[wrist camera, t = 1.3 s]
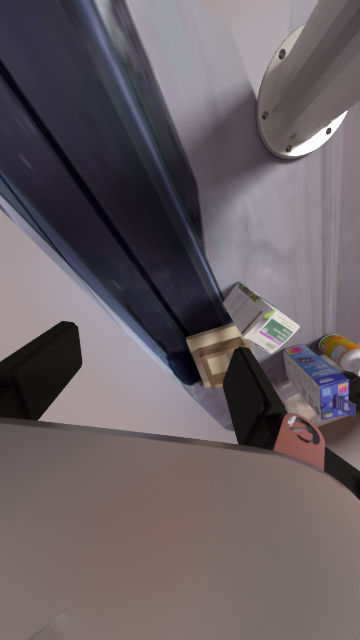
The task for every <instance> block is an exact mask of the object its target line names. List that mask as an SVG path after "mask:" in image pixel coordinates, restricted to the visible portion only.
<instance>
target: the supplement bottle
mask: <svg viewBox="0 0 360 640" xmlns="http://www.w3.org/2000/svg"><path fill="white" fill-rule="evenodd" d="M318 348H319V350H320V351H321V352H322V353H324V354H325V355H326V356H327V357H329V358H330V359H331V360H332V361H334V362H335V363H336V364H338V365H339V366H340V367H341V368H343V369H344V370H346V371H349V372H354V373H355V374H356V375H358V376H359V377H360V347H359V346H358V345H356V344H354V343H353V342H351V341H349V340H347V339H346V338H344V337H342V336H341V335H339V334H329V335H327V336H325V337H323V338H322V339H321V340H320V342H319V345H318Z"/></svg>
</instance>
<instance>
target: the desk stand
mask: <svg viewBox="0 0 360 640" xmlns="http://www.w3.org/2000/svg"><path fill="white" fill-rule="evenodd" d="M186 341H187V344H188V346H189V349H190V351H191V354H192V356H193V358H194V361H195V363H196V366H197V368H198V371H199V373H200V376H201V378H202V381H203V383H204V385H205V388H209V387H211V388H212V389H215V388H219V387H223V380H224V377H225V374H226V371H227V369H228V366H229V363H230V360H231V358H232V355H233V352H234V349H235V348H238V347H239V346H240V347H247V348H249V349H250V350H251V352H252V353H253V349H252V345H251V342H250V341H248V340H247V339H245V338H243V337H242V335H241V333H240V332H239V330H238V328H237V327H236V325H235V323H231V324H228V325H225V326H221V327H218V328H215V329H211V330H208V331H205V332H202V333H198V334H195V335H192V336H188V337H186ZM253 355H254V354H253Z"/></svg>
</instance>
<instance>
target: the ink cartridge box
mask: <svg viewBox="0 0 360 640" xmlns="http://www.w3.org/2000/svg"><path fill="white" fill-rule="evenodd" d="M283 356H284V362H285V368H286V374H287V378H288V379H289V380H290V382H291V383H292V384H293V385H294V386H295V388H296V389H297V390H298V391H299V393H300V394H301V395H302V396H303V398H304V399H305V400H306V401H307V402H308V404H309V405H310V406H311V407H312V409H313V410H314V411H315V412H316V413H317V415H318V416H319V417H320V418H321V419H322V420H324V419H328V418H333V417H338V416H343V415H347V414H348V415H350V416H353V417H355V410H356V404H354V403H352V402H350V401H349V379H348V378H346V377H345V376H344V375H342V374H341V373H340V372H339V371H337V370H336V369H335V368H334V367H332V366H331V365H330V364H328V363H327V362H326V361H325V360H323V359H322V358H321V357H319V356H318V355H317V354H316V353H314V352H313V351H312V350H310V349H309V348H308V347H307V346H305V345H304V344H301V345H297V346H293V347H290V348H286V349H283ZM348 405H349V408H350V410H349V411H348Z"/></svg>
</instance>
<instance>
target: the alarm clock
mask: <svg viewBox="0 0 360 640" xmlns="http://www.w3.org/2000/svg"><path fill="white" fill-rule="evenodd" d="M345 374H346V375H347V376H348V377H349V401H350V402H352V403H354V404H356V410H355V413H357V414H358V415H359V416H360V377H359V376H358V375H354V376H352V375H351V374H349V373H348V372H346V373H345ZM348 407H349V405H348Z"/></svg>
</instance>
